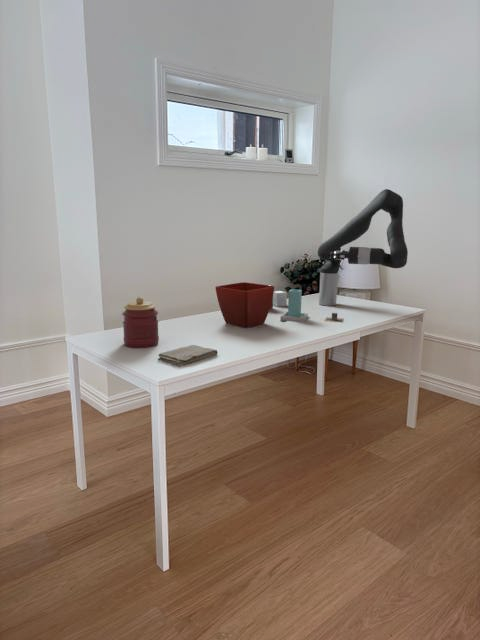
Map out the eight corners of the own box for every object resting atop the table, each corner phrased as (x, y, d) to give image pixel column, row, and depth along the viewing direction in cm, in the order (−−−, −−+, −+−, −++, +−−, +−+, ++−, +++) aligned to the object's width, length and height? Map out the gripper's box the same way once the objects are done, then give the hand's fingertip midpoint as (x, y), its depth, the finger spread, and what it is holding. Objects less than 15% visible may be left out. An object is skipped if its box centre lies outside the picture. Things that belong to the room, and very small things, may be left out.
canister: (127, 350, 170) (125, 301, 167) (120, 341, 182) (118, 295, 178) (162, 346, 175) (161, 299, 172) (154, 337, 187) (153, 293, 183)
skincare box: (286, 306, 253) (287, 292, 252) (276, 306, 251) (277, 293, 249) (280, 304, 259) (281, 290, 257) (271, 304, 256) (271, 291, 254)
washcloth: (155, 361, 159) (155, 352, 159) (194, 350, 173) (193, 341, 172) (180, 368, 152) (180, 359, 151) (218, 356, 166) (218, 347, 165)
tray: (285, 316, 228) (285, 311, 227) (307, 318, 225) (307, 313, 224) (280, 320, 218) (280, 316, 218) (303, 322, 215) (303, 317, 214)
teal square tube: (290, 316, 224) (291, 289, 221) (300, 317, 223) (301, 289, 220) (287, 318, 220) (288, 290, 217) (298, 319, 218) (299, 291, 215)
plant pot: (214, 323, 212) (214, 286, 208) (243, 317, 226) (243, 281, 222) (246, 331, 199) (246, 291, 196) (274, 323, 213) (275, 286, 209)
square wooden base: (326, 318, 223) (327, 311, 223) (344, 320, 221) (344, 312, 220) (324, 322, 216) (324, 314, 215) (342, 323, 214) (342, 315, 213)
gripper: (361, 246, 217) (325, 245, 222) (358, 248, 204) (320, 247, 209) (360, 262, 218) (324, 261, 223) (357, 265, 205) (319, 264, 210)
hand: (322, 254), depth 216 cm, fingers open, 8 cm apart
